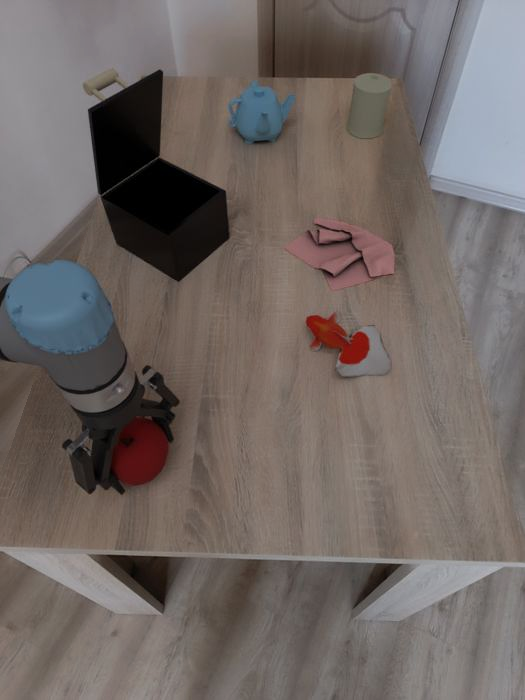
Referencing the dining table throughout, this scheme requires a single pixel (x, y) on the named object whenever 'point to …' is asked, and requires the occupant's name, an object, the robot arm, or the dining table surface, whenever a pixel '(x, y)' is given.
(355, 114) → the can
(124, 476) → the apple
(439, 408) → the dining table surface
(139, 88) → the lid
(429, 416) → the dining table surface
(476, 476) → the dining table surface
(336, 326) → the fish
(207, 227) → the box
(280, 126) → the teapot
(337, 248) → the cloth
